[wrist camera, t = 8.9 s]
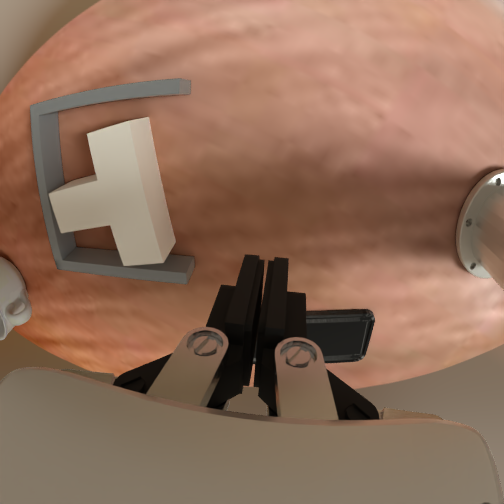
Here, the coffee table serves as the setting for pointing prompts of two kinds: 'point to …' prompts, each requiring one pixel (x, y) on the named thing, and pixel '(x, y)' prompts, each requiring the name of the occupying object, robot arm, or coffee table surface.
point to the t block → (121, 194)
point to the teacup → (12, 298)
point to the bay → (52, 179)
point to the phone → (339, 333)
